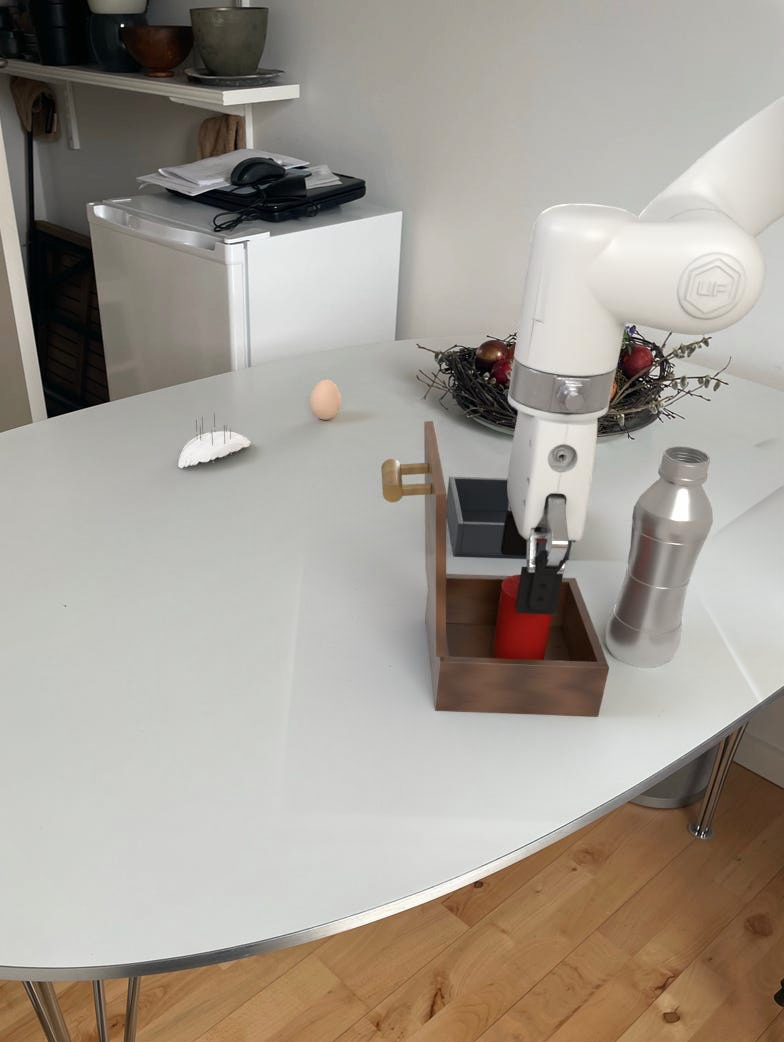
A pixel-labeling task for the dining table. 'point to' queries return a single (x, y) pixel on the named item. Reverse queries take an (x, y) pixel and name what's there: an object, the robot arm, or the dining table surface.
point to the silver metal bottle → (661, 561)
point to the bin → (480, 517)
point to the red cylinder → (518, 628)
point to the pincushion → (211, 446)
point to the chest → (515, 684)
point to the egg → (325, 400)
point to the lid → (427, 523)
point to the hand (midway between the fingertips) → (526, 581)
